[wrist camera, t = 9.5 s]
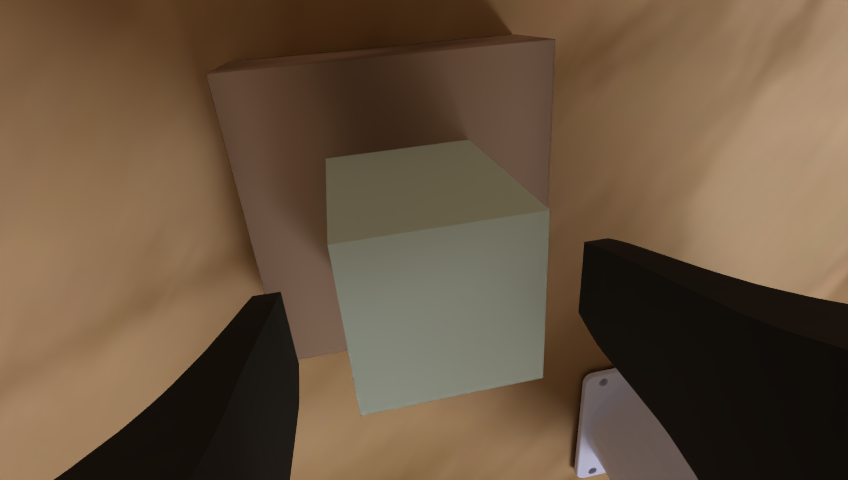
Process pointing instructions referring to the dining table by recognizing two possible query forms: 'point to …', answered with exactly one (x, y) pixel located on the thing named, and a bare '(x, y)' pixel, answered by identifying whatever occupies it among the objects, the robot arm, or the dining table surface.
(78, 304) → the dining table surface
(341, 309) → the sage block
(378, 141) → the walnut block
